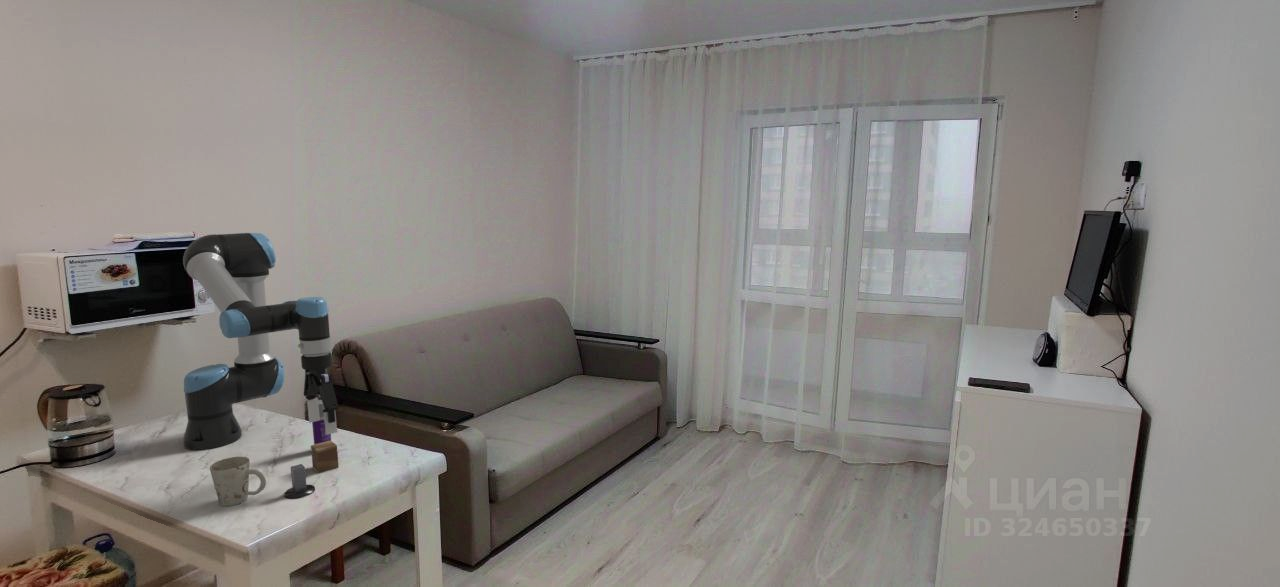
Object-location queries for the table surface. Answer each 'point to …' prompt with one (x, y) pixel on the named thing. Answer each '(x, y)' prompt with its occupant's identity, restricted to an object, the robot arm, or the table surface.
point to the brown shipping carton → (324, 456)
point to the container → (320, 427)
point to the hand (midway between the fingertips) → (322, 427)
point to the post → (299, 483)
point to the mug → (234, 480)
